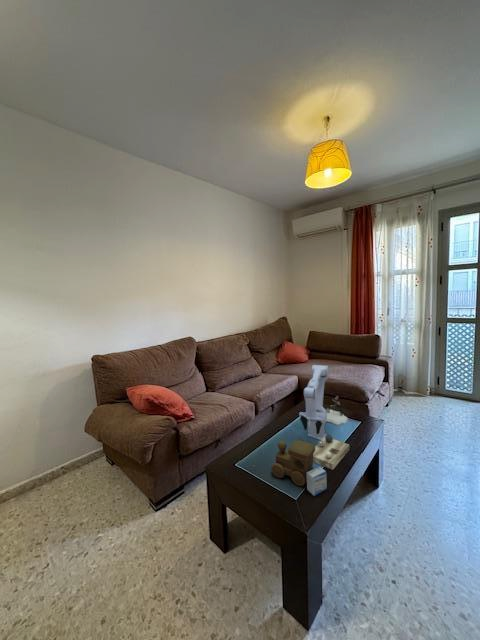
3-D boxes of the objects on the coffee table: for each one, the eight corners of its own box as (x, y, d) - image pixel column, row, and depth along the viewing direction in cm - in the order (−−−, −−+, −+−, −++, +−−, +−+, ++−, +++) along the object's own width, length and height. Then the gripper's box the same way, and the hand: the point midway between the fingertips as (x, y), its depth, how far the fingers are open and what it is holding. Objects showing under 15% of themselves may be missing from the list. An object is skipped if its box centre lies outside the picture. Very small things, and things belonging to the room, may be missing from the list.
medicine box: (313, 496, 111) (313, 477, 110) (306, 490, 115) (306, 471, 114) (327, 489, 115) (326, 471, 114) (319, 483, 119) (319, 465, 118)
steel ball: (316, 446, 143) (316, 441, 142) (319, 443, 145) (319, 438, 145) (322, 448, 140) (322, 443, 140) (324, 445, 143) (324, 440, 143)
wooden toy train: (317, 476, 123) (316, 443, 122) (308, 491, 114) (307, 456, 113) (279, 463, 135) (278, 432, 134) (269, 475, 126) (267, 443, 124)
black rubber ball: (324, 442, 147) (323, 435, 146) (327, 439, 150) (326, 432, 149) (330, 444, 144) (330, 437, 144) (333, 441, 147) (333, 434, 146)
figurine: (313, 416, 182) (314, 395, 180) (326, 409, 195) (327, 388, 192) (340, 428, 168) (342, 405, 166) (352, 419, 180) (354, 397, 178)
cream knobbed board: (307, 459, 137) (307, 453, 136) (325, 441, 153) (325, 436, 152) (332, 470, 127) (332, 464, 127) (349, 449, 143) (349, 444, 143)
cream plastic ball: (324, 457, 132) (324, 452, 132) (326, 454, 135) (326, 449, 134) (330, 459, 130) (329, 454, 130) (332, 457, 133) (332, 451, 132)
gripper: (296, 407, 147) (297, 430, 148) (319, 414, 137) (320, 438, 138) (302, 403, 152) (303, 425, 153) (325, 409, 142) (326, 433, 143)
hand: (311, 431), depth 146 cm, fingers open, 7 cm apart
